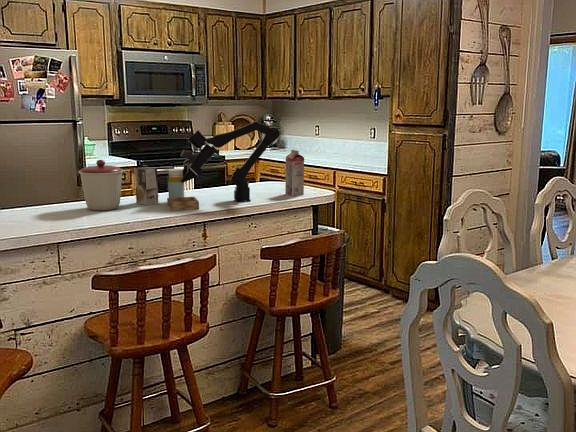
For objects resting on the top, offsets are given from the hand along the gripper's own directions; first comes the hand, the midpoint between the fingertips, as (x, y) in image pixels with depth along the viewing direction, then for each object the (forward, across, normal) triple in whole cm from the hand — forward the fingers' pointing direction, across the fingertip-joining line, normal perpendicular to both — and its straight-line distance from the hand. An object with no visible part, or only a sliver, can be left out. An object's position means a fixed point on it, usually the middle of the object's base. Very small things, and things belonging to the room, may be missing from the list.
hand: (180, 180), depth 256 cm
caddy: (+8, +13, +6) cm, 16 cm away
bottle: (+8, 0, +6) cm, 10 cm away
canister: (+31, +6, -16) cm, 36 cm away
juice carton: (-34, -5, +47) cm, 58 cm away
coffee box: (+18, -1, -3) cm, 18 cm away
